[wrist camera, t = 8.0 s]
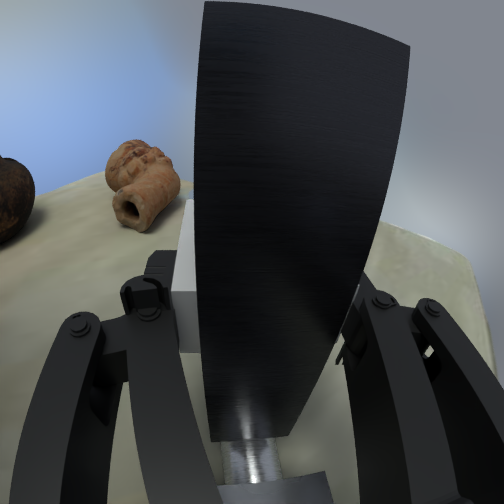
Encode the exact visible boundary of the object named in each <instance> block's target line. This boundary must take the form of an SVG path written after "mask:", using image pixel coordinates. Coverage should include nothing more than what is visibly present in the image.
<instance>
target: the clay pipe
mask: <svg viewBox="0 0 504 504" xmlns="http://www.w3.org/2000/svg"><path fill="white" fill-rule="evenodd" d="M105 177H106V182H107V184H108V186H109V187H110V188H111V189H112V190H113V191H114V192H116V194H115V196H114V198H113V202H112V204H113V208H114V211H115V215H116V218H117V220H118V221H119V222H120V223H122V224H124V225H127V226H129V227H130V228H133V229H135V230H137V231H138V232H143V231H146V230H147V229H148V228H149V226H150V225H151V224H152V222H153V221H154V219H155V217H156V216H157V215H158V214H159V212H161V211H162V210H163V209H164V208H165V207H166V206H167V205H168V204H169V203H170V202H171V201H172V200H173V199H174V198H175V197H176V196H177V195H178V194H179V191H180V178H179V176H178V174H177V173H176V172H175V171H174V169H173V165H172V161H171V159H169V158H168V157H167V156H165V155H164V153H163V152H161V150H160V149H159V148H157V147H150V146H149V145H148V144H147V143H145V142H144V141H141V140H130V141H127V142H125V143H123V144H121V145H120V146H119V148H118V149H117V150H116V151H114V152H113V153H112V154H111V156H110V158H109V160H108V162H107V165H106V169H105Z"/></svg>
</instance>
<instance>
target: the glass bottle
mask: <svg viewBox="0 0 504 504" xmlns="http://www.w3.org/2000/svg"><path fill="white" fill-rule="evenodd" d="M34 200H35V185H34V181H33V178H32V176H31V174H30V172H29V170H28V169H27V168H26V167H25V166H24V165H22V164H21V163H19V162H18V161H16V160H14V159H11V158H2V157H1V156H0V243H2V242H4V241H6V240H8V239H9V238H11V237H12V236H14V235H15V234H16V233H17V232H18V231H19V230H20V229H21V228H22V227H23V226H24V224H25V223H26V221H27V220H28V218H29V216H30V214H31V211H32V208H33V205H34Z"/></svg>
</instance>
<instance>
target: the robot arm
mask: <svg viewBox="0 0 504 504" xmlns="http://www.w3.org/2000/svg"><path fill="white" fill-rule="evenodd" d="M120 296H121V300H122V303H123V307H124V311H125V315H123V316H121V317H118V318H115V319H111V320H106V321H101V322H100V320H99V318H98V317H97V316H96V315H95V314H93V313H90V312H78V313H75V314H73V315H71V316H69V317H68V318H67V319H65V321H64V322H63V324H62V325H61V327H60V329H59V331H58V334H57V336H56V338H55V340H54V342H53V345H52V347H51V349H50V352H49V354H48V357H47V359H46V361H45V364H44V366H43V369H42V372H41V374H40V377H39V380H38V382H37V385H36V388H35V391H34V394H33V397H32V400H31V403H30V406H29V409H28V412H27V416H26V419H25V423H24V426H23V430H22V434H21V438H20V442H19V446H18V450H17V455H16V460H15V465H14V470H13V476H12V482H11V490H10V498H9V504H107V495H108V481H109V471H110V461H111V453H112V445H113V438H114V431H115V424H116V418H117V412H118V407H119V401H120V396H121V391H122V385H123V383H124V382H128V381H129V391H130V401H131V409H132V417H133V425H134V432H135V438H136V444H137V450H138V455H139V460H140V466H141V470H142V475H143V479H144V484H145V488H146V492H147V496H148V500H149V504H224V503H223V501H222V498H221V495H220V493H219V490H218V487H217V485H216V482H215V479H214V476H213V473H212V470H211V467H210V464H209V461H208V458H207V455H206V452H205V449H204V446H203V443H202V439H201V436H200V433H199V429H198V426H197V422H196V419H195V415H194V411H193V408H192V404H191V400H190V396H189V392H188V388H187V384H186V380H185V376H184V372H183V367H182V363H181V358H180V354H179V349H180V353H201V350H200V338H199V324H198V310H197V293H196V273H195V245H194V199H187V201H186V206H185V211H184V216H183V221H182V227H181V232H180V238H179V243H178V249H177V250H156V251H155V252H154V253H153V254H152V255H151V256H150V257H149V258H148V261H147V264H146V268H145V271H144V275H141V276H137V277H134V278H132V279H130V280H128V281H127V282H126V283H125V284H124V285H123V286H122V287H121V290H120ZM341 333H342V336H343V338H344V340H345V342H344V344H343V346H342V348H341V350H340V352H339V354H338V356H337V358H336V364H335V365H338V364H339V362H340V360H341V358H342V357H343V363H342V365H344V369H345V375H346V381H347V387H348V394H349V400H350V407H351V414H352V422H353V430H354V438H355V447H356V457H357V467H358V480H359V494H360V504H504V390H503V388H502V387H501V385H500V383H499V382H498V380H497V379H496V377H495V376H494V374H493V373H492V371H491V370H490V368H489V367H488V365H487V364H486V362H485V361H484V359H483V358H482V357H481V355H480V354H479V352H478V351H477V350H476V348H475V347H474V345H473V344H472V343H471V341H470V340H469V339H468V337H467V336H466V335H465V333H464V332H463V331H462V329H461V328H460V327H459V326H458V324H457V323H456V322H455V320H454V319H453V318H452V317H451V315H450V314H449V313H448V312H447V311H446V309H445V308H444V307H443V306H442V305H441V304H440V303H438V302H437V301H435V300H433V299H429V298H423V299H420V300H419V302H418V304H417V305H416V307H415V308H411V307H404V306H399V303H398V302H397V300H396V299H395V298H394V297H393V296H391V295H390V294H388V293H386V292H384V291H380V290H376V288H375V287H374V285H373V284H372V283H371V281H370V280H369V278H368V277H367V275H366V274H365V273H364V271H363V273H362V276H361V278H360V281H359V284H358V287H357V290H356V292H355V295H354V298H353V300H352V303H351V305H350V308H349V310H348V313H347V315H346V318H345V320H344V323H343V325H342V328H341V330H340V332H339V335H338V337H337V339H336V342H335V343H337V340H338V338H339V336H340V334H341ZM430 345H431V347H432V348H433V350H434V351H433V353H432V354H431V355H430V357H427V356H426V355H425V354H424V353H425V352H426V350H427V349H428V347H429V346H430Z"/></svg>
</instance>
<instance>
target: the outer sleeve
mask: <svg viewBox="0 0 504 504" xmlns="http://www.w3.org/2000/svg"><path fill="white" fill-rule="evenodd" d="M217 487H218V490H219V493H220V495H221V498H222V501H223V503H224V504H334V503H333V499H332V496H331V492H330V488H329V485H328V481H327V477H326V474H325V471H322V472H318V473H314V474H309V475H304V476H299V477H294V478H288V479H282V480H275V481H268V482H259V483H250V484H237V485H218V486H217Z"/></svg>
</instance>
